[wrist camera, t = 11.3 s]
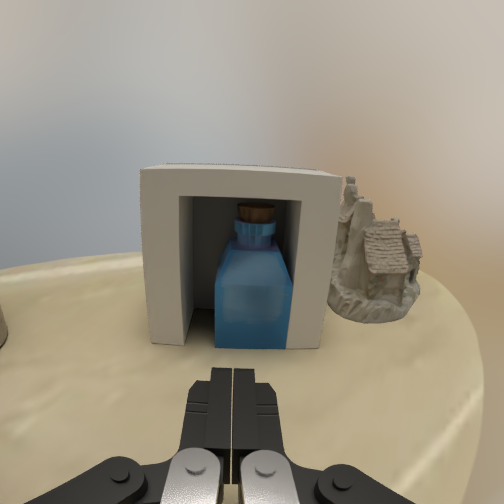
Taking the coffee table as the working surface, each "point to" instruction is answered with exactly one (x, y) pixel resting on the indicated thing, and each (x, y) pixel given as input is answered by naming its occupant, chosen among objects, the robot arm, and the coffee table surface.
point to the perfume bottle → (252, 284)
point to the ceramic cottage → (372, 264)
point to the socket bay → (222, 229)
